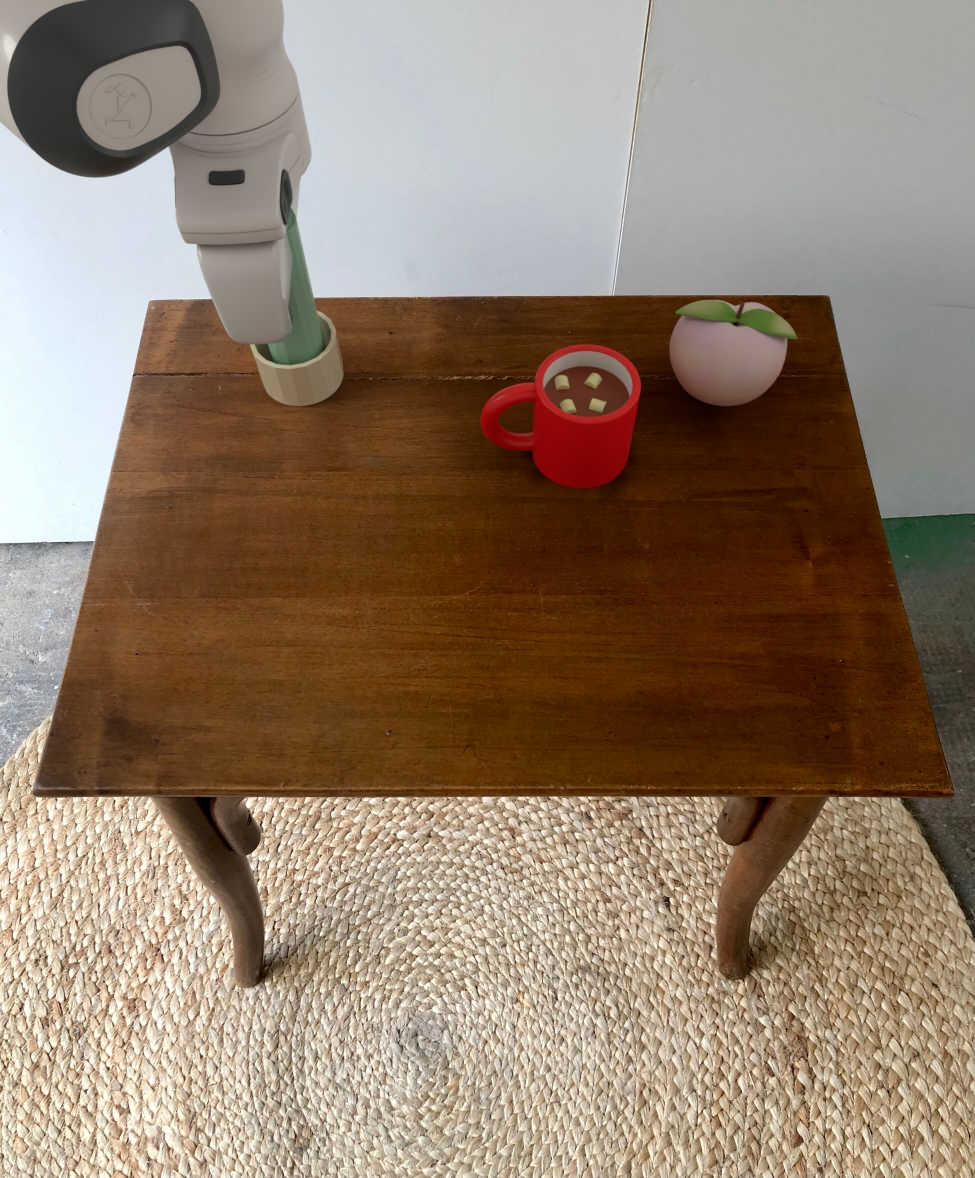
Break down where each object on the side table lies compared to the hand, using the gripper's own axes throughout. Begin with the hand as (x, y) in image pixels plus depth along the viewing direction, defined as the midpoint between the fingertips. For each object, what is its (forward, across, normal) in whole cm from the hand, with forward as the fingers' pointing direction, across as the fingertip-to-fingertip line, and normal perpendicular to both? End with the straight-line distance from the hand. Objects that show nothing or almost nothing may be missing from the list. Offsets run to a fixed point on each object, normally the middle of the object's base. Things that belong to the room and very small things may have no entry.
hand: (284, 301), depth 71 cm
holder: (+8, 0, 0) cm, 8 cm away
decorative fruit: (+8, +5, +35) cm, 36 cm away
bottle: (+8, 0, 0) cm, 8 cm away
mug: (+8, +10, +21) cm, 24 cm away
